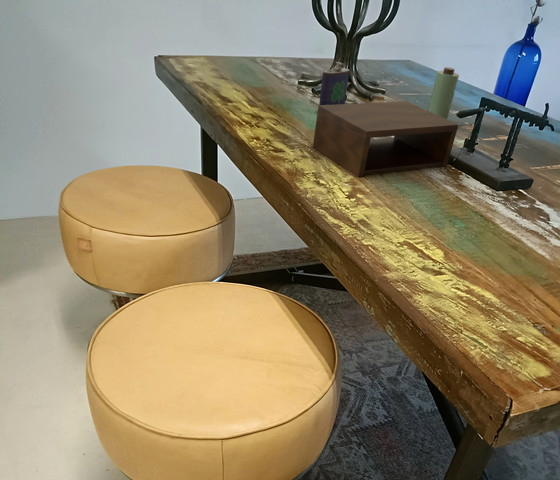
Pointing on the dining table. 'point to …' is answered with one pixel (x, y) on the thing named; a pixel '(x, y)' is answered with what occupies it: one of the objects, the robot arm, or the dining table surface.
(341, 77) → the flask
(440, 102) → the canister
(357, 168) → the shelf
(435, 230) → the dining table surface
